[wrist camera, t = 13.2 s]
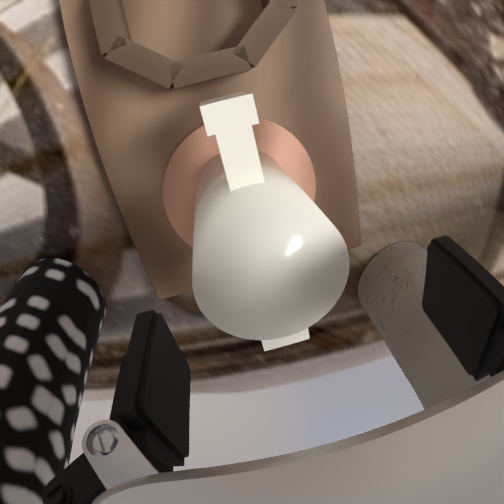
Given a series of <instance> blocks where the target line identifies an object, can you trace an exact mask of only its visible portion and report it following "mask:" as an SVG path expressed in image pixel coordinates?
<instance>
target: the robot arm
mask: <svg viewBox="0 0 504 504" xmlns="http://www.w3.org/2000/svg"><path fill="white" fill-rule="evenodd" d="M422 307H423V310H424V312H425V314H426V315H427V316H428V318H429V319H430V321H431V322H432V323H433V325H434V326H435V327H436V329H437V330H438V332H439V333H440V334H441V336H442V337H443V339H444V340H445V341H446V343H447V344H448V346H449V347H450V349H451V350H452V351H453V353H454V354H455V356H456V357H457V359H458V360H459V362H460V363H461V365H462V366H463V368H464V369H465V371H466V372H467V373H468V374H469V375H472V376H473V377H474V379H475V380H476V382H477V381H479V380H480V379H482V378H484V377H486V376H488V374H489V375H490V377H491V378H489V379H487V380H485V381H483V382H481V383H479V384H477V385H476V386H474V387H472V388H470V389H468V390H466V391H464V392H462V393H460V394H458V395H456V396H454V397H452V398H450V399H448V400H445V401H443V402H441V403H439V404H437V405H434V406H432V407H430V408H428V409H425V410H423V411H421V412H418V413H416V414H413V415H411V416H409V417H406V418H404V419H401V420H398V421H396V422H393V423H391V424H388V425H385V426H382V427H379V428H377V429H374V430H371V431H368V432H365V433H362V434H359V435H356V436H353V437H350V438H346V439H343V440H340V441H336V442H333V443H329V444H325V445H321V446H318V447H314V448H310V449H306V450H302V451H298V452H294V453H289V454H284V455H280V456H275V457H270V458H265V459H259V460H254V461H248V462H242V463H235V464H230V465H222V466H216V467H208V468H199V469H189V470H182V471H173V466H184V457H188V455H189V410H190V409H189V408H190V368H189V365H188V363H187V362H186V360H185V358H184V356H183V354H182V352H181V350H180V349H179V347H178V345H177V343H176V341H175V339H174V337H173V335H172V333H171V331H170V329H169V328H168V326H167V324H166V322H165V320H164V318H163V316H162V314H161V313H158V314H157V313H156V312H155V311H154V310H151V311H146V312H142V313H138V314H137V316H136V319H135V323H134V327H133V331H132V335H131V339H130V343H129V347H128V351H127V354H126V355H125V356H124V357H123V360H122V364H121V368H120V372H119V377H118V381H117V386H116V390H115V395H114V400H113V405H112V409H111V414H110V420H102V421H98V422H96V423H94V424H93V425H92V426H90V427H89V428H88V429H87V431H86V432H85V434H84V436H83V439H82V449H83V451H84V453H83V454H82V455H80V456H79V457H78V458H77V459H76V460H75V461H73V462H72V463H71V464H70V465H69V466H67V467H66V468H65V469H64V470H63V471H61V472H60V473H59V474H58V475H56V476H55V477H54V478H53V479H52V480H50V481H49V482H48V483H47V485H46V486H45V488H44V490H43V495H42V500H43V504H504V286H503V285H502V284H501V283H500V282H499V281H498V280H496V279H495V278H494V277H493V276H492V275H491V274H490V273H489V272H488V271H487V270H486V269H485V268H484V267H483V266H482V265H480V264H479V263H478V262H477V261H476V260H475V259H474V258H473V257H472V256H470V255H469V254H468V253H467V252H466V251H465V250H464V249H463V248H461V247H460V246H459V245H458V244H457V243H456V242H454V241H453V240H452V239H451V238H450V237H448V236H442V237H439V238H435V239H433V240H432V241H431V244H430V245H429V246H428V250H427V263H426V273H425V283H424V291H423V299H422Z"/></svg>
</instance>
